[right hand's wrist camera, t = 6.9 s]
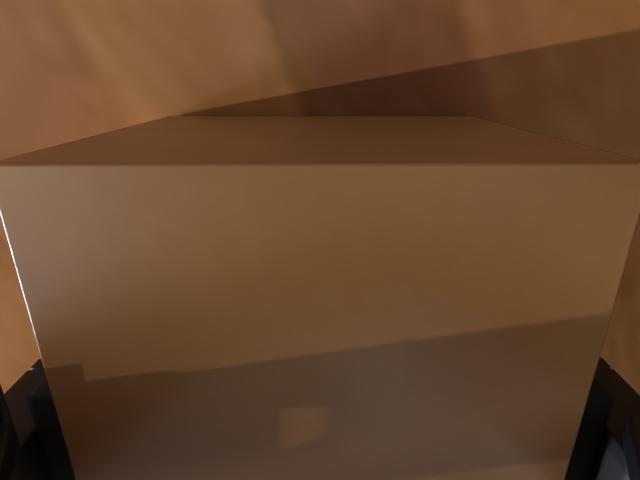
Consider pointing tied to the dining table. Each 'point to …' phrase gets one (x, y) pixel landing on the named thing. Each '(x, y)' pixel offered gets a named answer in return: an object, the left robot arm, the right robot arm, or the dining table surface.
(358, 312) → the thick board
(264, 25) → the dining table surface
